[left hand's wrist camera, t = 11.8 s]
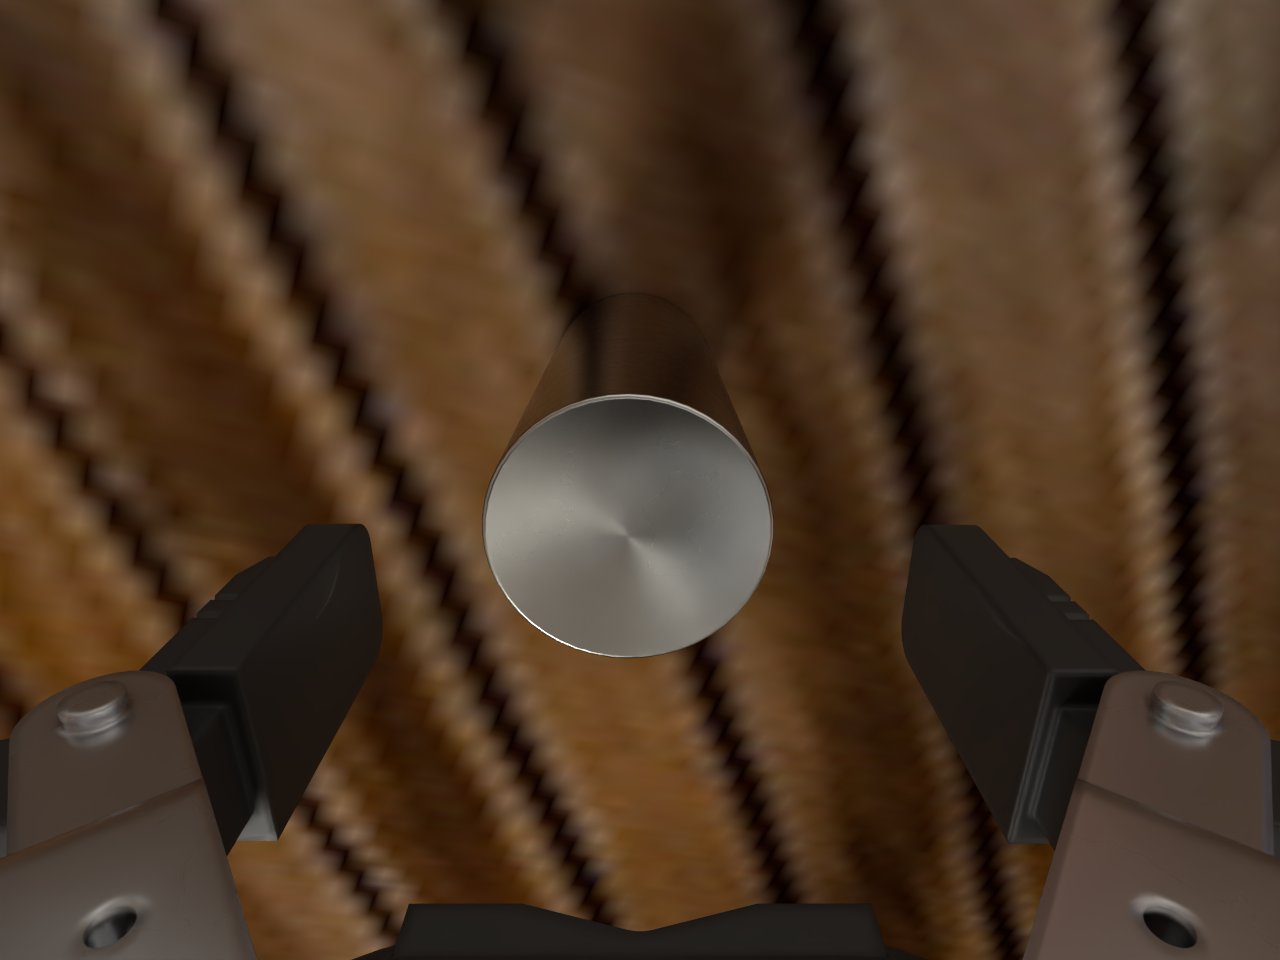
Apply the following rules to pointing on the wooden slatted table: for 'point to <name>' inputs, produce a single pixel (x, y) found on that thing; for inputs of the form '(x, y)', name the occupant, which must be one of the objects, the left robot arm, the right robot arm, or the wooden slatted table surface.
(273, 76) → the wooden slatted table surface
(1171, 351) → the wooden slatted table surface
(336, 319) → the wooden slatted table surface
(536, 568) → the can
